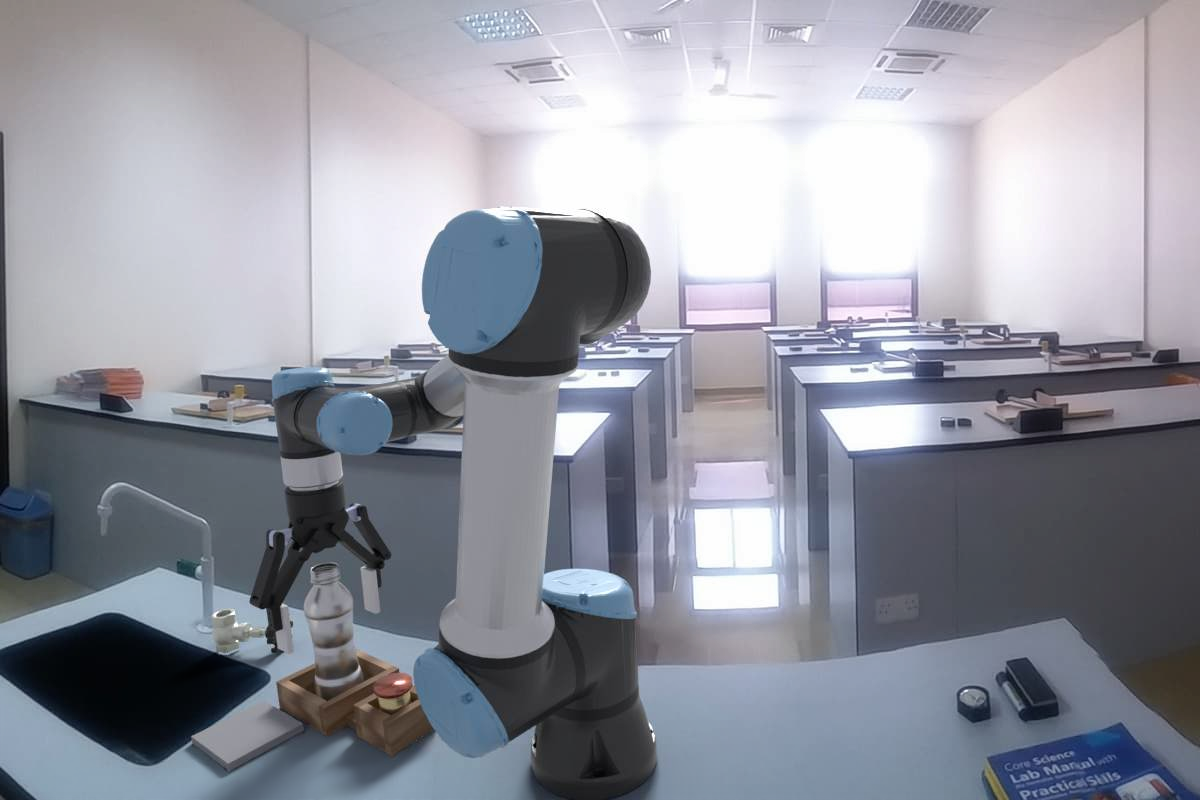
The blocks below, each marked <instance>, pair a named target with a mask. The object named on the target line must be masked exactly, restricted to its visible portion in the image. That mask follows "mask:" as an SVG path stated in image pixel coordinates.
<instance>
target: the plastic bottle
mask: <svg viewBox="0 0 1200 800" xmlns="http://www.w3.org/2000/svg"><path fill="white" fill-rule="evenodd" d="M309 573H310V584H311V585H313V586H312V587H311V589H310V590H309V592H308V594H307V595H306V597H305V598H304V599H305V600H304V603H303V611H304V612H303V613H304V615H305V619H306V622H307V625H308V629H309V633H310V636H311V642H312V648H313V652H314V654H313V655H314V663H315V680H314V690H315V693H316V696H318V697H320V698H322V699H324V700H325V701H328V700H330V699H332V698H334V697H336V696H338V695H340V694H342V693H344V692H345V691H347V690H349V689H351V688H353V687H355V686H357V685H359V684H361V683H363V682H364V677H363V674H362V670H361V668H360V665H359V663H358V658H357V654H356V649H357V648H356V646H355V637H354V598H353V595H352V594H351V592H350V591H349V589H348V588H347V587H346V586H345V584H343V583H341V582H340V580H341V579H342V578H341V573H340V565H339V564H338V563H337V562H324V563H319V564H316V565H314V566H312V567H311V568H310V571H309Z"/></svg>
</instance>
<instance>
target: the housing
mask: <svg viewBox="0 0 1200 800" xmlns="http://www.w3.org/2000/svg"><path fill="white" fill-rule="evenodd" d="M355 649H356V654H357V658H358V663H359V665H360V668H361V670H362V674H363V677H364V682H363V683H361V684H359V685H357V686H355V687H353V688H351V689H349V690H347V691H345V692H344V693H342V694H340V695H338V696H336V697H334V698H332V699H330V700H328V701H325V700H324V699H322V698H320V697H318V696H316V695H315V694H316V693H315V690H314V680H315V662H314V663H312V664H311V665H308V666H305V667H304V668H302V669H300V670H298V671H295V672H294V673H291V674H290V675H287V676H285V677H283V678H281V679H278V680H277V681H275V683H276V684H275V685H276V691H277V697H278V704H279V708H280V710H281V711H282V710H283V712H285V713H286V714H288V715H290V716H291V717H293V718H295V719H296V720H298V721H300V722H302V723H303V724H304V723H305V724H306V725H308V726H309V725H310V726H309V727H311V728H312V729H314V730H316V731H318V732H319V731H320V733H321V734H323V735H324V736H326V737H329V736H331V735H332V734H334V733H337V732H338V731H340V730H341V729H343V728H344V727H349V728H351V729H353V730H354V731H356V737H357V738H360V739H361V740H363V741H365V742H366V743H368V744H370V745H372V746H374V747H375V748H377V749H379V750H380V749H381V750H380V751H382V750H383V751H382V752H384V753H385V754H388V755H389V756H391V757H393V755H394V756H395V755H397V754H398V753H400V752H401V751H403V750H405V749H406V748H408V747H409V746H410V744H411V743H412V744H414V743H416V742H417V741H418V739H419V740H420V739H422V738H423V737H425V736H426V734H427V733H428V734H430V733H431V732H432V730H433V731H435V730H434V728H433V727H432V725H431V724H430V722H429V720H428V718H427V716H426V715H425V713H424V711H423V709H422V706H421V704H420V701H419V699H418V696H417V693H416V689H415V684H412V688H411V689H410V697H411V704H409V705H408V706H406V707H404V708H403V709H401V710H399V711H397V712H396V713H394V714H392V715H389V714H387V713H385V712H383V711H381V710H380V709H379V701H378V697H377V696H376V695H375V693H374V683H375V682H376V681H377V680H378V679H379V678H381V677H383V676H385V675H388V674H392V673H400V668H399V667H397V666H396V665H392V664H391V663H388V662H386V661H385V660H381V659H379V658H377V657H375V656H373V655H371V654H369V653H366V652H363V651H361V650H360V649H357V648H355ZM429 732H430V733H429ZM428 734H427V735H428ZM424 735H425V736H424ZM422 736H423V737H422ZM421 737H422V738H421ZM416 740H417V741H416ZM415 741H416V742H415ZM413 742H414V743H413ZM412 744H411V745H412ZM408 745H409V746H408ZM407 746H408V747H407ZM405 747H406V748H405ZM404 748H405V749H404ZM402 749H403V750H402ZM399 751H400V752H399ZM396 753H397V754H396Z"/></svg>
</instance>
